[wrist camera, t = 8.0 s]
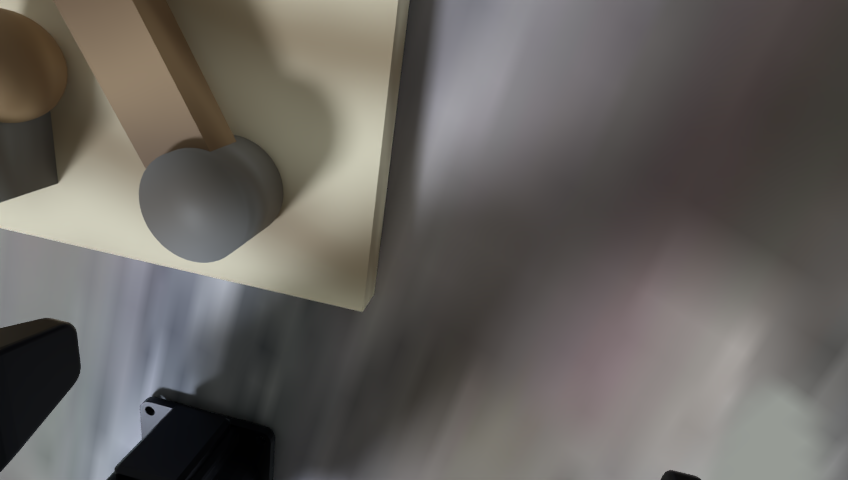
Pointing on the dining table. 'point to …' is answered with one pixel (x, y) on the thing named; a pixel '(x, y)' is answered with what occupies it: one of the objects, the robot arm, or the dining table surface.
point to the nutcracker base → (245, 115)
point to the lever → (175, 130)
